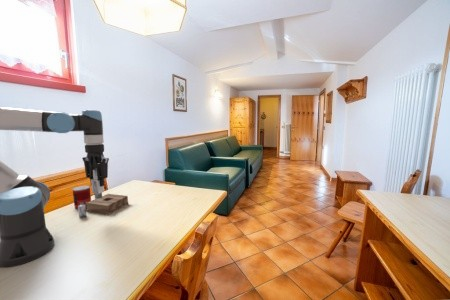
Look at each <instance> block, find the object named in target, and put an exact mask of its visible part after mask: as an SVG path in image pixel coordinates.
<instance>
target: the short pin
mask: <svg viewBox="0 0 450 300" xmlns="http://www.w3.org/2000/svg"><path fill="white" fill-rule="evenodd" d="M77 211H78V218H79V219H83V218H86V217H87V207H85V204H82V205H79V206H78V209H77Z"/></svg>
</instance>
